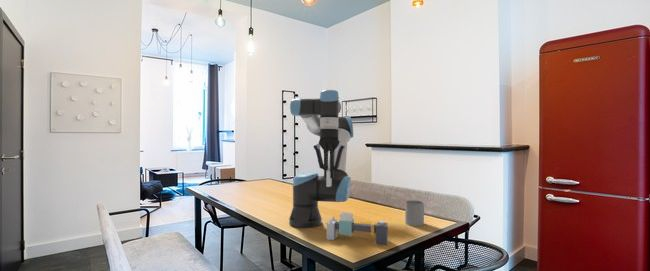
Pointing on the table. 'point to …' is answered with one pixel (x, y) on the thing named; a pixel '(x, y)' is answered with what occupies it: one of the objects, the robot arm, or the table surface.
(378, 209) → the table surface
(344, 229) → the sleeve
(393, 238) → the table surface
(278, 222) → the table surface
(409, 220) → the cup
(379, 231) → the slider rail
